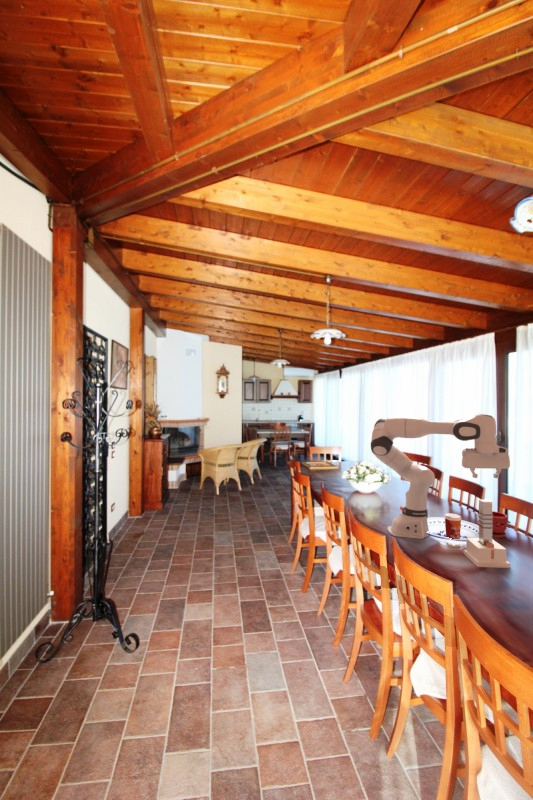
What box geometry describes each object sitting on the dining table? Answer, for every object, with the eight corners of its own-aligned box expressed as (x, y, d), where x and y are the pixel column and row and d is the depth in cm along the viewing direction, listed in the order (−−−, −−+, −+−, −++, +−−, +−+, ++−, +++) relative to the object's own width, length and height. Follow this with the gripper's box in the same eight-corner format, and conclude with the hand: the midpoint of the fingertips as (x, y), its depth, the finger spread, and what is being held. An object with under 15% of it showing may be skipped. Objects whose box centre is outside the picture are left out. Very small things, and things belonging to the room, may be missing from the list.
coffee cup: (455, 548, 185) (454, 518, 185) (440, 542, 192) (440, 514, 192) (465, 545, 189) (465, 516, 189) (451, 539, 196) (450, 512, 196)
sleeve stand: (477, 566, 165) (477, 545, 165) (463, 553, 179) (463, 534, 179) (510, 567, 163) (510, 546, 163) (493, 554, 177) (493, 534, 177)
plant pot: (512, 540, 195) (512, 517, 195) (485, 538, 198) (485, 516, 198) (501, 531, 208) (501, 510, 208) (476, 529, 211) (476, 509, 211)
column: (483, 549, 169) (483, 502, 169) (478, 545, 173) (478, 499, 173) (493, 549, 169) (493, 502, 169) (488, 545, 173) (488, 499, 173)
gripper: (465, 449, 169) (465, 478, 169) (511, 449, 167) (512, 479, 167) (459, 447, 175) (459, 476, 175) (504, 447, 173) (504, 476, 173)
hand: (485, 477), depth 171 cm, fingers open, 8 cm apart
